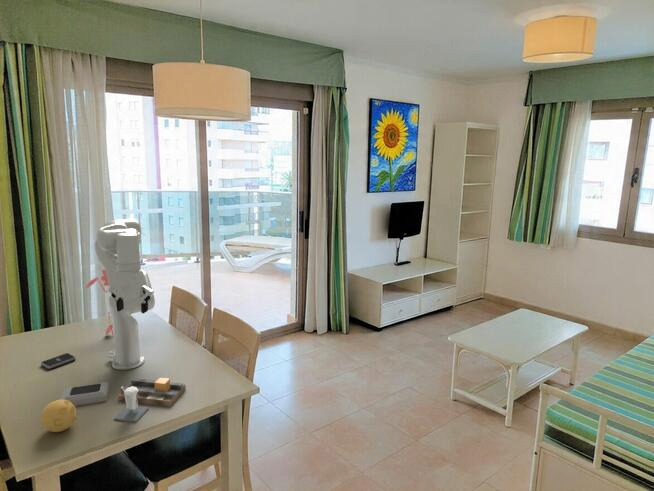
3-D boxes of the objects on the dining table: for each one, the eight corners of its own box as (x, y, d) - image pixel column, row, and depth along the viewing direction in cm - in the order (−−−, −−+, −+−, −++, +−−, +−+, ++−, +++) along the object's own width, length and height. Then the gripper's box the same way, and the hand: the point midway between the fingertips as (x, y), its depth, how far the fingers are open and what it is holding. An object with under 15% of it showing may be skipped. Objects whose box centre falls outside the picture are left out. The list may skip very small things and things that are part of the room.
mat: (113, 420, 151) (113, 418, 151) (127, 406, 159) (127, 405, 159) (135, 422, 150) (135, 421, 150) (148, 409, 158) (148, 407, 158)
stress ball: (38, 437, 143) (42, 431, 136) (39, 406, 147) (42, 398, 140) (74, 431, 149) (79, 424, 142) (73, 401, 153) (78, 393, 146)
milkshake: (125, 408, 157) (123, 382, 154) (141, 408, 157) (139, 382, 155) (121, 416, 152) (118, 389, 150) (137, 416, 153) (135, 389, 150)
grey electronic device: (63, 386, 165) (108, 379, 170) (64, 395, 166) (109, 388, 171) (58, 399, 156) (106, 392, 162) (59, 409, 157) (106, 401, 162)
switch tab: (155, 392, 164) (154, 382, 163) (160, 387, 168) (159, 377, 167) (165, 393, 164) (164, 383, 163) (170, 388, 167) (169, 378, 167)
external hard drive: (40, 366, 187) (40, 362, 186) (68, 356, 196) (67, 352, 195) (49, 371, 183) (48, 366, 182) (76, 361, 192) (76, 356, 192)
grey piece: (118, 400, 163) (117, 391, 162) (137, 384, 174) (136, 375, 173) (170, 406, 160) (169, 397, 159) (185, 389, 171) (185, 380, 171)
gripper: (101, 267, 161) (104, 313, 164) (145, 270, 158) (148, 316, 162) (113, 262, 168) (117, 306, 172) (157, 265, 165) (159, 309, 169)
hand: (132, 311), depth 167 cm, fingers open, 9 cm apart
